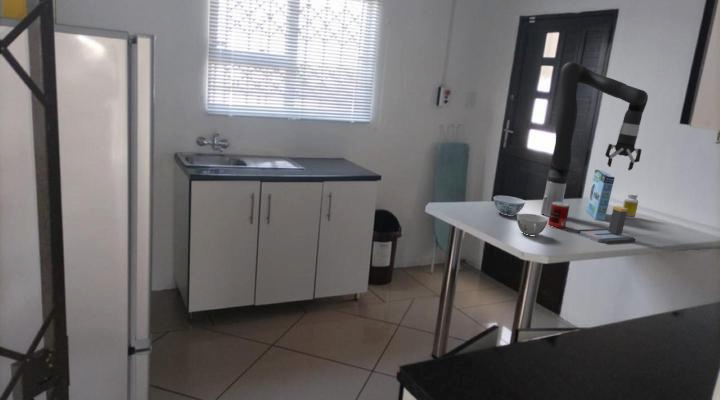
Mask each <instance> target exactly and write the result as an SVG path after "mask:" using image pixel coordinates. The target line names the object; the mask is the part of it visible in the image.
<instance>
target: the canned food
mask: <svg viewBox="0 0 720 400" xmlns="http://www.w3.org/2000/svg"><path fill="white" fill-rule="evenodd" d="M569 210H570V203H569V204H568V202H567V203H566V202H564V201H563V202H552V206H551V211H550V216H548V217H549V218H548V221H547V224H548V226H549V225H550V226H549V227H551V226H553V227H552V228H554V227H556V228H555V229H560V228H562V229H565V228H566V224H567V220H568V216H569Z"/></svg>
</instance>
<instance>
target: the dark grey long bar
mask: <svg viewBox="0 0 720 400" xmlns="http://www.w3.org/2000/svg"><path fill="white" fill-rule="evenodd" d="M636 240H637V239H636V238H634V237H633V238H625V239H607V240H604V242H603V243H604V244H606V245H611V244H626V243H636Z"/></svg>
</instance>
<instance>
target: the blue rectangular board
mask: <svg viewBox="0 0 720 400" xmlns="http://www.w3.org/2000/svg"><path fill="white" fill-rule="evenodd" d="M579 236H582V237H584V236H585V237H584V238H587V239H589V238H590V239H589V240H592V241H593V242H594V241H595V242H596V241H597V243H602V242H603V243H604V240H607V239H625V238H634V236H633V235H630V234H627V233H625V232H622V234H614V233H611V232H608V230H601V231H580V233H579Z"/></svg>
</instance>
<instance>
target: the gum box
mask: <svg viewBox="0 0 720 400" xmlns="http://www.w3.org/2000/svg"><path fill="white" fill-rule="evenodd" d="M614 182H615V176H613V175H611V174H610V173H609V172H606V171H605V170H600V169H595V170H594V173H593V178H592V183H591V187H590V191H589V195H588V201H587V205H586V210H585V211H586V212H587V213H588V214H590V216H591V217H592V218H593V219H594V221H601V222H605V221H606V216H607V212H608V207H609V203H610V199H611V195H612V191H613V186H614Z"/></svg>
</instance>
